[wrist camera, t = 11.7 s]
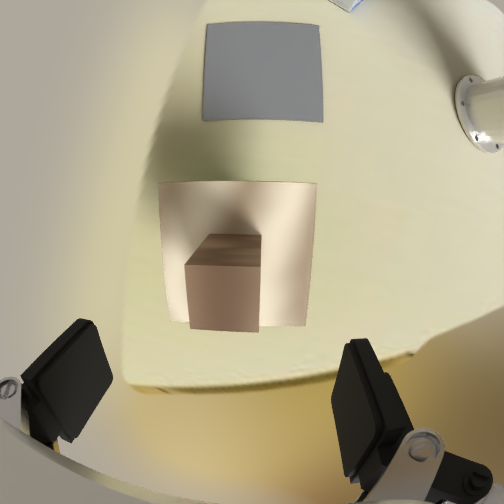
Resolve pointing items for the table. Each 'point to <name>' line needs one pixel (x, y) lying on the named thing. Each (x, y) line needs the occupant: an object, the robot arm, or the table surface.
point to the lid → (237, 252)
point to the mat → (263, 72)
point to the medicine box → (346, 4)
